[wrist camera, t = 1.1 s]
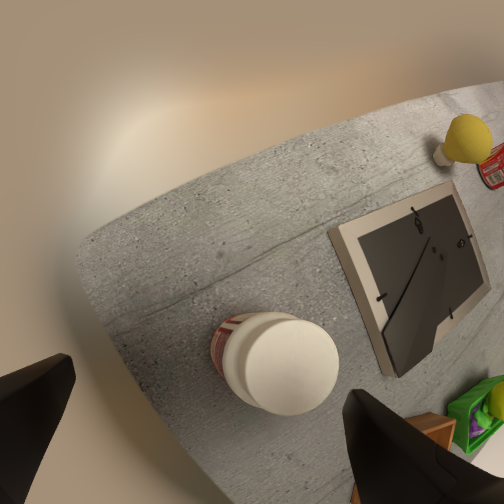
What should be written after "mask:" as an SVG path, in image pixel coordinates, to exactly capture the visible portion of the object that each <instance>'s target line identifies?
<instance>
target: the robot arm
mask: <svg viewBox="0 0 504 504" xmlns="http://www.w3.org/2000/svg"><path fill="white" fill-rule="evenodd" d="M75 380H76V374H75V370H74V366H73V361H72V358H71V356H69V355H66V354H62V353H59V354H56V355H54V356H51V357H49V358H47V359H44V360H42V361H39V362H37V363H34V364H32V365H30V366H27V367H25V368H22V369H19V370H17V371H15V372H12V373H10V374H7V375H5V376H2V377H0V504H24V502H25V499H26V497H27V495H28V492H29V489H30V487H31V484H32V482H33V480H34V477H35V475H36V473H37V470H38V468H39V466H40V463H41V461H42V459H43V456H44V454H45V452H46V450H47V448H48V445H49V443H50V441H51V439H52V437H53V435H54V433H55V430H56V428H57V426H58V424H59V422H60V420H61V418H62V416H63V413H64V410H65V408H66V405H67V402H68V399H69V396H70V394H71V391H72V389H73V386H74V384H75ZM342 415H343V422H344V429H345V436H346V444H347V451H348V455H349V459H350V463H351V467H352V471H353V475H354V479H355V483H356V487H357V491H358V495H359V499H360V503H361V504H504V478H500V477H496V476H494V475H491V474H490V473H488V472H486V471H484V470H482V469H480V468H478V467H476V466H474V465H472V464H470V463H468V462H467V461H465V460H463V459H461V458H460V457H458V456H456V455H455V454H453V453H451V452H450V451H448V450H447V449H445V448H444V447H442V446H441V445H440V444H438V443H436V442H435V441H434V440H432V439H431V438H429V437H428V436H427V435H425V434H424V433H422V432H421V431H419V430H418V429H417V428H415V427H414V426H412V425H411V424H410V423H408V422H407V421H406V420H404V419H403V418H401V417H400V416H399V415H397V414H396V413H395V412H393V411H392V410H390V409H389V408H388V407H386V406H385V405H384V404H382V403H381V402H380V401H378V400H377V399H376V398H374V397H373V396H372V395H370V394H369V393H368V392H366V391H365V390H363V389H352V390H350V392H349V393H348V396H347V399H346V401H345V404H344V406H343V410H342Z"/></svg>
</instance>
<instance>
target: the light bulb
mask: <svg viewBox="0 0 504 504" xmlns="http://www.w3.org/2000/svg"><path fill="white" fill-rule="evenodd" d="M492 145H493V141H492V135H491V132H490V130H489V128H488V126H487V125H486V124H485V123H484V122H483V121H482V120H481V119H480V118H478V117H476V116H473V115H470V114H464V115H460V116H458V117H456V118H454V119H453V120H452V122H451V125H450V127H449V130H448V132H447V134H446V139H445V143H442V144H440V145H439V146H437V148H436V151H435V152H434V153H433V158H434V161H435V162H436V164H437V165H438V166H440V167H442V166H444V165H445V166H450V165H452V164H453V163H454V162H455V161H457V162H461V163H472V164H480V163H482V162H483V161H484V160H486V159H487V158H488V157H489V155H490V153H491V150H492Z"/></svg>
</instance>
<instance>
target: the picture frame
mask: <svg viewBox="0 0 504 504" xmlns="http://www.w3.org/2000/svg"><path fill="white" fill-rule="evenodd" d="M328 234H329V237H330V239H331V241H332V244H333V246H334V248H335V251H336V253H337V255H338V258H339V260H340V262H341V265H342V267H343V270H344V272H345V275H346V277H347V279H348V282H349V284H350V287H351V289H352V292H353V294H354V297H355V300H356V302H357V305H358V307H359V310H360V313H361V315H362V318H363V321H364V323H365V326H366V329H367V331H368V334H369V337H370V340H371V342H372V345H373V348H374V351H375V354H376V357H377V360H378V363H379V365H380V368H381V371H382V374H383V375H387V376H392V377H396V376H398V378H400V377H402V376H403V375H404V374H405V373H407V372H408V371H409V370H410V369H412V368H413V367H414V366H415V365H416V364H418V363H419V362H420V361H421V360H422V359H424V358H425V357H426V356H427V355H428V354H429V353H431V352H432V349H433V346H434V345H435V344H436V343H437V342H438V341H439V340H440V339H441V338H443V337H444V336H445V335H446V334H447V333H448V332H449V331H450V330H451V329H452V328H453V327H455V326H456V325H457V324H458V323H459V322H460V321H461V320H462V319H463V318H464V317H465V316H466V315H467V314H468V313H469V312H470V311H471V310H472V309H473V308H474V307H475V306H476V305H477V304H478V303H479V302H480V301H481V299H482V298H483V297H484V296H485V295H486V294H487V293H488V292H489V291H490V290H491V285H490V281H489V278H488V274H487V271H486V267H485V264H484V261H483V258H482V255H481V252H480V249H479V246H478V243H477V240H476V237H475V234H474V232H473V229H472V226H471V224H470V221H469V218H468V216H467V213H466V211H465V208H464V206H463V204H462V201H461V199H460V197H459V194H458V192H457V190H456V188H455V185H454V183H453V181H452V180H450V181H448V182H445V183H443V184H440V185H438V186H435V187H433V188H430V189H428V190H426V191H423V192H421V193H418V194H416V195H413V196H411V197H408V198H406V199H403V200H401V201H398V202H396V203H394V204H391V205H389V206H386V207H384V208H381V209H379V210H376V211H374V212H371V213H369V214H366V215H364V216H361V217H359V218H356V219H354V220H351V221H349V222H346V223H344V224H341V225H339V226H337V227H335V228H333V229H331V230H330V231H328Z"/></svg>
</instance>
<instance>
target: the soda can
mask: <svg viewBox="0 0 504 504" xmlns="http://www.w3.org/2000/svg"><path fill="white" fill-rule="evenodd" d="M478 167H479V171H480V174H481V176H482V178H483V180H484V181H485V183H486V184H487V185H488V186H490V187H491V188H493V189H497V188H499V187H501V186H504V143H502V144H500V145H499V146H497V147H495V148H493V149H492V150H491V153H490V155H489V157H488V158H487V159H486V160H484V161H483V162H482V163H480V164H478Z"/></svg>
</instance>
